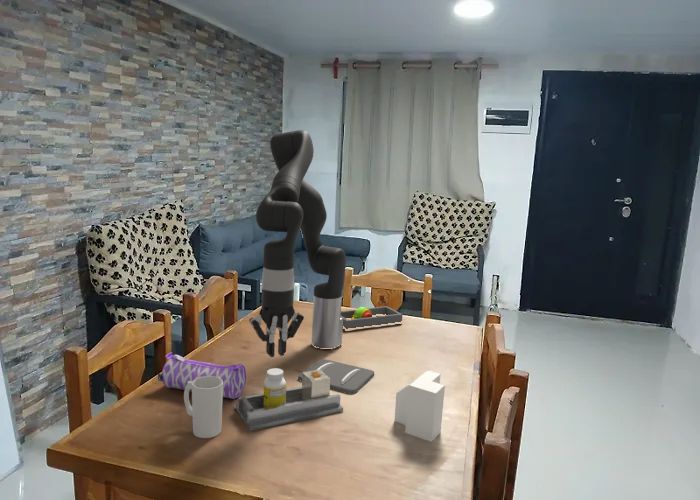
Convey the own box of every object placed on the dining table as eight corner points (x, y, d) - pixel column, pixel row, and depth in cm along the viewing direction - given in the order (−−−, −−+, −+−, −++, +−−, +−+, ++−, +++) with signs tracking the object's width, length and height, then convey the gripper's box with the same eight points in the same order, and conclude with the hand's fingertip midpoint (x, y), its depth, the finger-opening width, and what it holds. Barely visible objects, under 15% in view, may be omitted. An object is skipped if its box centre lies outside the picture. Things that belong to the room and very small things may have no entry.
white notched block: (431, 442, 125) (435, 393, 122) (387, 426, 130) (391, 379, 128) (449, 423, 134) (453, 377, 131) (407, 409, 139) (410, 365, 137)
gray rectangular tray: (386, 315, 216) (387, 306, 216) (401, 324, 207) (402, 314, 206) (332, 322, 205) (333, 312, 204) (346, 331, 195) (346, 320, 195)
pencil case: (156, 391, 142) (156, 357, 140) (176, 378, 151) (176, 345, 149) (234, 406, 137) (234, 370, 135) (250, 390, 145) (250, 357, 144)
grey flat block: (296, 371, 153) (322, 353, 167) (296, 381, 154) (321, 363, 167) (354, 385, 146) (376, 366, 159) (353, 396, 146) (375, 376, 160)
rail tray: (322, 391, 147) (323, 361, 145) (343, 411, 136) (344, 379, 135) (235, 408, 135) (235, 375, 134) (250, 430, 125) (251, 396, 123)
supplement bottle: (263, 403, 136) (264, 366, 134) (285, 403, 137) (286, 366, 135) (262, 414, 131) (263, 376, 129) (285, 413, 132) (286, 376, 130)
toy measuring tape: (345, 325, 203) (345, 308, 202) (380, 315, 216) (381, 300, 215) (356, 329, 198) (357, 312, 197) (392, 320, 212) (393, 303, 210)
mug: (228, 429, 125) (229, 380, 123) (209, 442, 119) (209, 391, 117) (194, 417, 130) (194, 370, 127) (174, 430, 124) (173, 380, 121)
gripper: (298, 280, 134) (296, 346, 138) (244, 284, 128) (243, 353, 131) (311, 287, 128) (308, 357, 131) (255, 292, 121) (253, 365, 125)
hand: (276, 355), depth 131 cm, fingers closed
